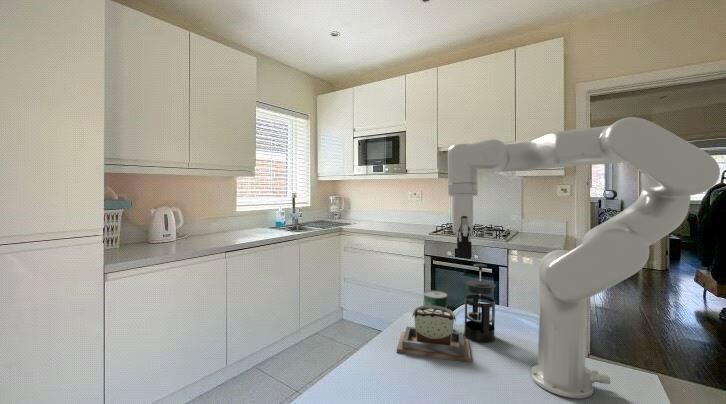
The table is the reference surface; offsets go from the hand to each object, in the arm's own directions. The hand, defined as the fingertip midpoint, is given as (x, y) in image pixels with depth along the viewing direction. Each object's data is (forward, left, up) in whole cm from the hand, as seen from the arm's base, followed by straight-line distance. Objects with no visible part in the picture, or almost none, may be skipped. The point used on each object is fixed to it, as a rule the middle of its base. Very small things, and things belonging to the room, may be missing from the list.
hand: (464, 254), depth 85 cm
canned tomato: (+8, -22, -29) cm, 37 cm away
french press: (-6, -17, -29) cm, 34 cm away
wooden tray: (+8, -6, -29) cm, 30 cm away
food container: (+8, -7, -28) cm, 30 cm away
